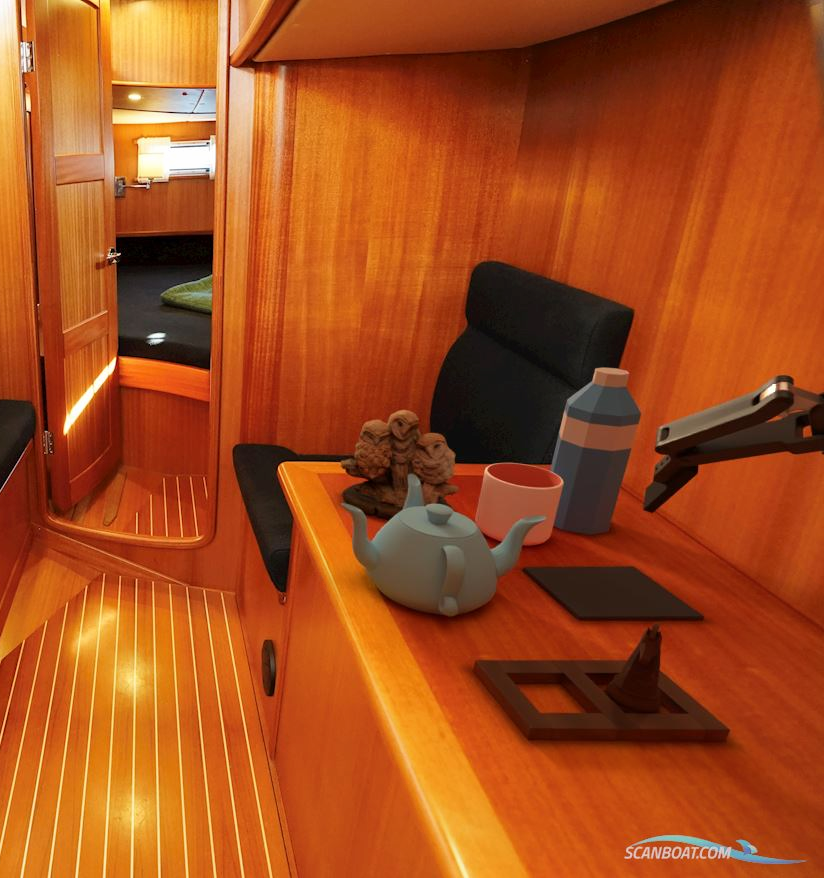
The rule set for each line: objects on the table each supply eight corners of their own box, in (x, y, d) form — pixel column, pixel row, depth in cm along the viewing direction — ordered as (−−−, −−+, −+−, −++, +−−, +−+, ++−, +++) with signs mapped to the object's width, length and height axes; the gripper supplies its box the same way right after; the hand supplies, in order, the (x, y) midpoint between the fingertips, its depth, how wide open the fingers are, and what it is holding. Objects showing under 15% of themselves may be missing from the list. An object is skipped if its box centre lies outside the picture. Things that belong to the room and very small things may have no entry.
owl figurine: (335, 513, 118) (347, 418, 112) (336, 486, 128) (347, 397, 122) (457, 529, 111) (476, 428, 105) (447, 499, 122) (464, 405, 116)
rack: (645, 671, 79) (648, 660, 79) (726, 741, 69) (730, 729, 69) (472, 670, 80) (474, 659, 80) (527, 739, 70) (530, 728, 70)
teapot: (395, 542, 108) (406, 469, 104) (529, 594, 94) (549, 512, 90) (330, 579, 99) (339, 501, 95) (467, 643, 85) (486, 555, 80)
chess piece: (599, 704, 74) (623, 626, 71) (609, 681, 78) (632, 605, 74) (654, 727, 71) (682, 645, 68) (662, 702, 74) (689, 623, 71)
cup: (459, 527, 112) (470, 469, 109) (501, 514, 116) (513, 458, 112) (520, 555, 103) (534, 493, 100) (564, 540, 107) (579, 480, 103)
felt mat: (632, 569, 99) (633, 566, 98) (703, 620, 87) (704, 616, 87) (522, 570, 99) (523, 566, 99) (578, 620, 88) (579, 616, 88)
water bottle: (527, 507, 118) (560, 363, 109) (588, 509, 116) (626, 363, 107) (557, 533, 109) (596, 379, 100) (623, 535, 108) (668, 379, 99)
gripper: (726, 347, 49) (573, 507, 65) (1271, 484, 39) (929, 630, 56) (730, 282, 52) (585, 449, 69) (1231, 393, 43) (920, 555, 59)
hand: (738, 530), depth 62 cm, fingers open, 13 cm apart
